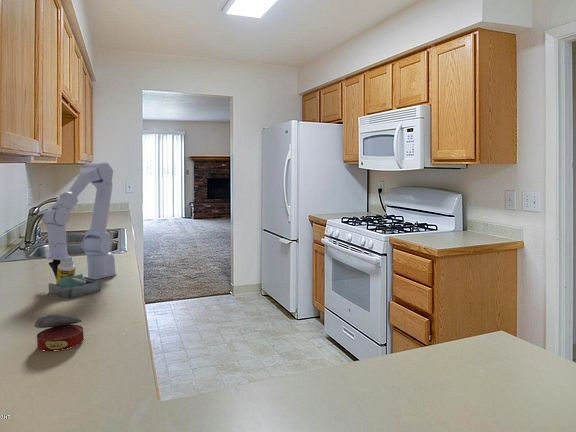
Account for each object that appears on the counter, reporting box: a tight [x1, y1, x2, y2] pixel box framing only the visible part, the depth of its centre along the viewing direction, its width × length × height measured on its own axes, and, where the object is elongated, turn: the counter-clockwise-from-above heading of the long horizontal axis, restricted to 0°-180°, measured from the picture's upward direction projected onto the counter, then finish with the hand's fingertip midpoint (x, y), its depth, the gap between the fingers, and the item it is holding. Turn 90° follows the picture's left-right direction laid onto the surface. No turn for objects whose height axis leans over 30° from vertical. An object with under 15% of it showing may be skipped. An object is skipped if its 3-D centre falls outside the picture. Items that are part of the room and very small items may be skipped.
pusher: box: [59, 273, 86, 288], centre depth 150 cm, size 8×9×5 cm
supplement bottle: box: [55, 258, 76, 285], centre depth 154 cm, size 6×6×10 cm
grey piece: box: [48, 277, 101, 299], centre depth 151 cm, size 11×14×3 cm
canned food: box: [34, 314, 85, 351], centre depth 105 cm, size 11×10×10 cm
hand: (60, 281), depth 156 cm, fingers closed
